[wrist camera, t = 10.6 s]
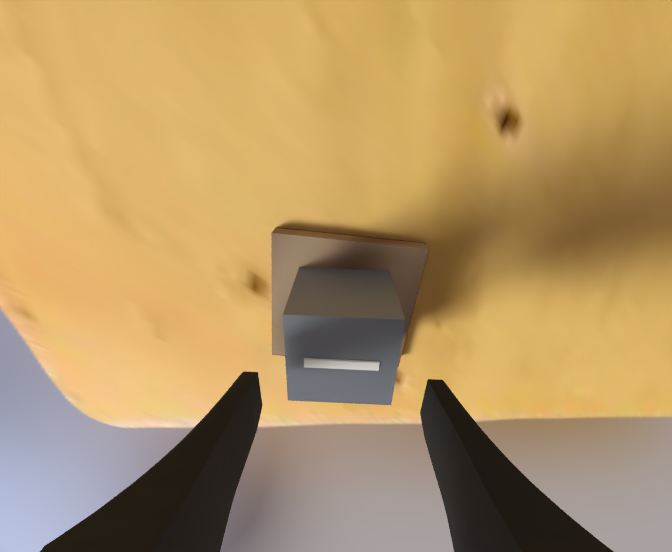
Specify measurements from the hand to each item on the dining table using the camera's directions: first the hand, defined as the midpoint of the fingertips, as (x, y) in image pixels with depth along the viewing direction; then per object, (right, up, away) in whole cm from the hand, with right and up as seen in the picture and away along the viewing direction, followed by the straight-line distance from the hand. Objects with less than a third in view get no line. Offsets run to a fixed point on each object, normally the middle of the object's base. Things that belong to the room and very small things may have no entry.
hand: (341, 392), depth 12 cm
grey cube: (0, +3, +6) cm, 7 cm away
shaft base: (0, +3, +7) cm, 8 cm away
